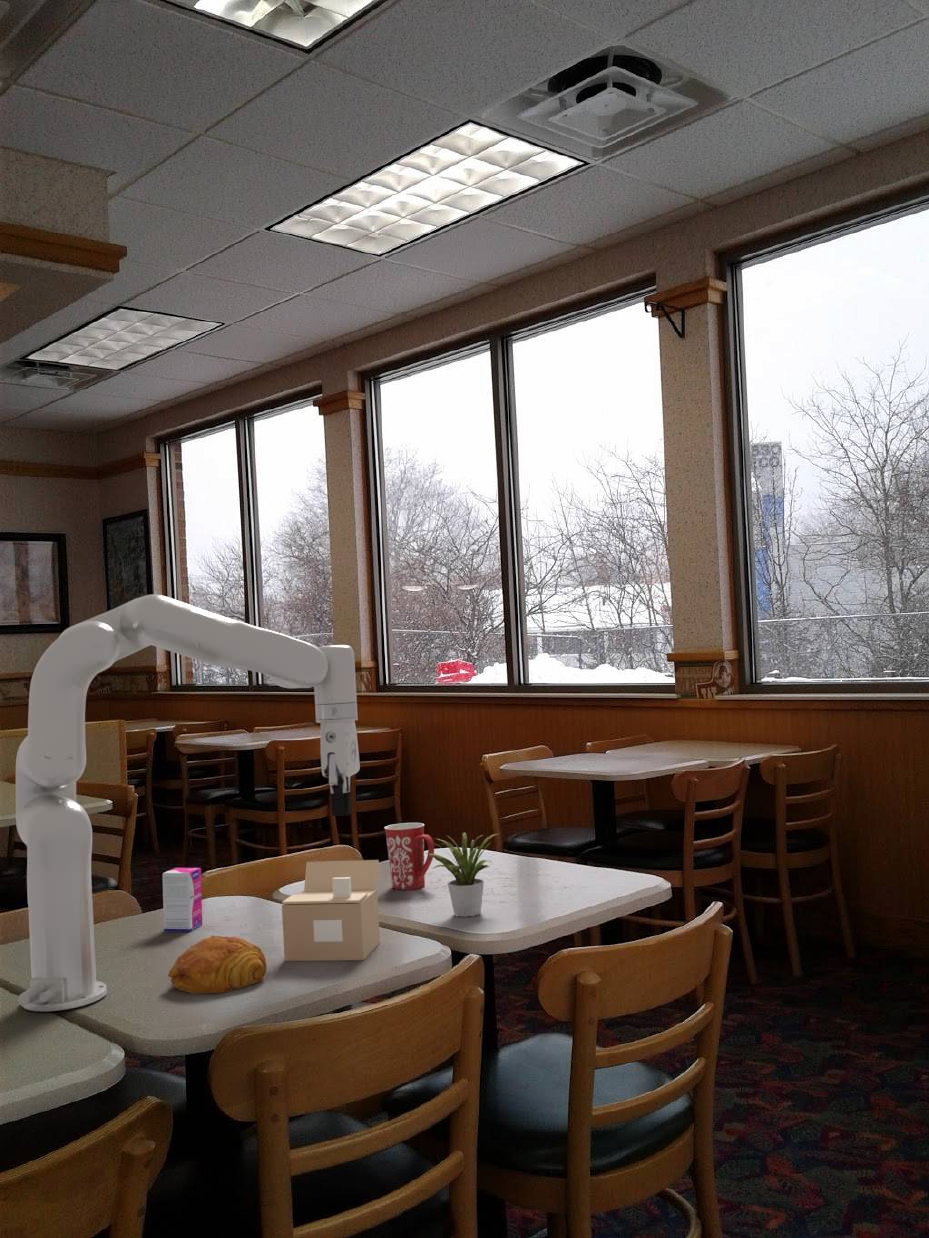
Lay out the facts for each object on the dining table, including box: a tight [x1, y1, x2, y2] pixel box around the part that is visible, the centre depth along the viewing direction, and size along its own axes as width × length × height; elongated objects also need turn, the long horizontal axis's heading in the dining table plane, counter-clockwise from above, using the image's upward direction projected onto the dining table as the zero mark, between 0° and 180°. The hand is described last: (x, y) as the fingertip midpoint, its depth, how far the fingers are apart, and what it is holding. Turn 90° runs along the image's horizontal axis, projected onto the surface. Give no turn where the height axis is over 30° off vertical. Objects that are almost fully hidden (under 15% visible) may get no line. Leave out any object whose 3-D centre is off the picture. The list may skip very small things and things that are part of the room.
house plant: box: [424, 831, 501, 917], centre depth 215 cm, size 14×14×16 cm
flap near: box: [281, 877, 367, 905], centre depth 188 cm, size 5×14×4 cm, turn 80°
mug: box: [383, 822, 435, 891], centre depth 241 cm, size 13×9×14 cm
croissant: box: [167, 935, 267, 995], centre depth 177 cm, size 14×16×8 cm
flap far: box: [303, 859, 380, 891], centre depth 200 cm, size 5×14×4 cm
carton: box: [281, 888, 381, 962], centre depth 191 cm, size 11×14×10 cm
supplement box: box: [162, 867, 203, 933], centre depth 215 cm, size 6×6×12 cm
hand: (341, 814), depth 197 cm, fingers closed
